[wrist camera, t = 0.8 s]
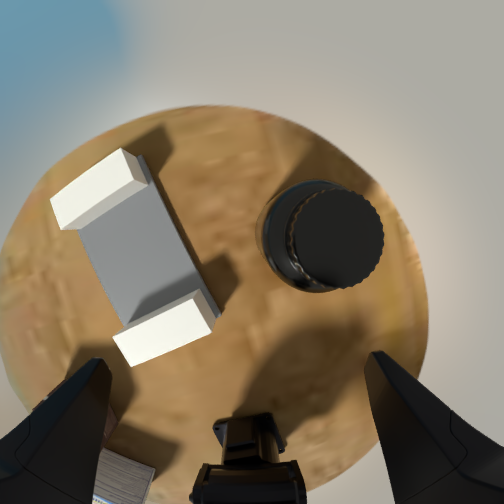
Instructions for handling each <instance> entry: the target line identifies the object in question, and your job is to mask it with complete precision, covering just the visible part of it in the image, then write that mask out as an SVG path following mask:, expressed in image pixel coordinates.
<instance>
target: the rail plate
mask: <svg viewBox="0 0 504 504" xmlns="http://www.w3.org/2000/svg"><path fill="white" fill-rule="evenodd" d="M50 201H51V204H52V207H53V210H54V213H55V215H56V218H57V221H58V224H59V226H60V229H61V230H69V229H77V231H78V234H79V236H80V238H81V241H82V243H83V245H84V248H85V250H86V252H87V255H88V257H89V259H90V261H91V263H92V266H93V268H94V270H95V272H96V274H97V276H98V278H99V280H100V282H101V284H102V286H103V288H104V290H105V292H106V294H107V296H108V298H109V300H110V302H111V304H112V306H113V308H114V309H115V311H116V313H117V315H118V317H119V318H120V320H121V322H122V324H123V325H124V327H123V328H122V329H121V330H120V331H119V332H118V333H116V334H115V335H114V336H113V339H114V341H115V342H116V344H117V345H118V347H119V349H120V350H121V352H122V354H123V355H124V357H125V358H126V360H127V361H128V363H129V365H130V366H131V367H132V366H135V365H137V364H140V363H142V362H145V361H147V360H150V359H152V358H155V357H157V356H159V355H162V354H164V353H166V352H169V351H171V350H174V349H176V348H178V347H180V346H183V345H185V344H187V343H190V342H192V341H194V340H196V339H199V338H201V337H203V336H205V335H208V334H210V333H212V330H213V327H214V324H215V320H216V318H218V317H220V316H221V315H222V314H221V312H220V310H219V308H218V306H217V304H216V303H215V301H214V299H213V297H212V295H211V293H210V292H209V290H208V288H207V286H206V284H205V282H204V280H203V278H202V277H201V275H200V273H199V271H198V269H197V267H196V265H195V263H194V261H193V259H192V257H191V255H190V254H189V252H188V250H187V248H186V246H185V244H184V242H183V240H182V238H181V236H180V234H179V232H178V230H177V228H176V226H175V224H174V222H173V219H172V217H171V215H170V213H169V211H168V209H167V207H166V205H165V203H164V201H163V199H162V197H161V194H160V192H159V190H158V188H157V186H156V184H155V182H154V179H153V177H152V175H151V173H150V171H149V168H148V166H147V164H146V162H145V159H144V157H143V156H142V155H141V154H140V155H139V156H137V157H135V156H133V155H132V154H130V153H128V152H127V151H125V150H123V149H122V148H119V149H118V150H116V151H115V152H113V153H112V154H110V155H109V156H107V157H106V158H104V159H103V160H101V161H100V162H99V163H97V164H96V165H94V166H93V167H91V168H90V169H89V170H87V171H86V172H85V173H83V174H82V175H81V176H79V177H78V178H77V179H75V180H74V181H73V182H71V183H70V184H69V185H67V186H66V187H65V188H64V189H62V190H61V191H60V192H59V193H57V194H56V195H55V196H54V197H52V198H51V199H50Z"/></svg>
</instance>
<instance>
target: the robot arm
mask: <svg viewBox="0 0 504 504" xmlns="http://www.w3.org/2000/svg"><path fill="white" fill-rule="evenodd" d="M364 374H365V379H366V384H367V390H368V395H369V401H370V407H371V411H372V415H373V419H374V422H375V426H376V429H377V433H378V436H379V440H380V444H381V447H382V451H383V455H384V459H385V462H386V466H387V470H388V475H389V479H390V483H391V487H392V492H393V496H394V501H395V504H504V447H503V446H500V445H499V444H497V443H496V442H494V441H493V440H491V439H490V438H488V437H487V436H485V435H484V434H482V433H481V432H480V431H478V430H476V429H475V428H474V427H472V426H471V425H470V424H468V423H467V422H466V421H465V420H463V419H462V418H461V417H460V416H459V415H457V414H456V413H455V412H454V411H453V410H451V409H450V408H449V407H448V406H447V405H445V404H444V403H443V402H442V401H441V400H440V399H439V398H438V397H436V396H435V395H434V394H433V393H432V392H430V391H429V390H428V389H427V388H426V387H425V386H423V385H422V384H421V383H420V382H419V381H418V380H417V379H415V378H414V377H413V376H412V375H411V374H410V373H408V372H407V371H406V370H405V369H404V368H402V367H401V366H400V365H399V364H398V363H397V362H395V361H394V360H393V359H392V358H391V357H390V356H388V355H387V354H386V353H385V352H384V351H381V350H379V351H373V352H371V353H370V354H369V357H368V359H367V362H366V365H365V368H364ZM111 384H112V372H111V370H110V369H109V367H108V365H107V363H106V361H105V360H104V359H103V358H100V357H92V358H91V359H90V360H89V361H88V362H86V363H85V364H84V365H83V366H82V367H81V368H80V369H79V370H77V371H76V372H75V373H74V374H73V375H72V376H71V377H70V378H69V379H68V380H66V381H65V382H64V383H63V384H62V385H61V386H60V387H59V388H58V389H57V390H55V391H54V392H53V393H52V394H51V395H50V396H49V397H48V398H47V399H46V400H45V401H44V402H42V403H41V404H40V405H39V406H38V407H37V408H36V409H35V410H34V411H33V412H32V413H31V414H30V415H29V416H27V417H26V418H25V419H24V420H23V421H22V422H21V423H20V424H19V425H18V426H17V427H16V428H14V429H13V430H12V431H11V432H9V433H8V434H7V435H5V436H4V437H3V438H2V439H0V504H92V502H93V494H94V486H95V479H96V473H97V467H98V461H99V455H100V450H101V444H102V439H103V434H104V430H105V425H106V420H107V415H108V408H109V400H110V392H111ZM267 416H269V418H266V417H267ZM216 427H219V428H216ZM213 431H214V433H215V435H216V437H217V439H218V440H219V442H220V444H221V446H222V448H223V450H222V461H221V465H210V464H208V463H203V465H202V468H201V469H200V470H199V473H198V476H197V478H196V481H195V484H194V486H193V491H192V492H191V494H190V495H189V500H190V501H191V502H192V503H193V504H307V496H306V487H305V483H304V479H303V476H302V474H301V471H300V468H299V466H298V463H297V460H291V461H290V462H280V460H279V454H281V453H283V452H284V451H285V447H284V445H283V442H282V439H281V437H280V434H279V431H278V429H277V426H276V423H275V420H274V418H273V415H272V414H271V413H269V412H268V413H263V414H259V415H255V416H250V417H245V418H240V419H235V420H230V421H226V422H220V423H215V424H214V425H213ZM280 449H281V450H280Z"/></svg>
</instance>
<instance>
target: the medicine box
mask: <svg viewBox="0 0 504 504" xmlns="http://www.w3.org/2000/svg"><path fill="white" fill-rule="evenodd" d="M154 473H155V469H154V468H152V467H149V466H146V465H143V464H141V463H138V462H136V461H133V460H131V459H128V458H126V457H123V456H121V455H119V454H117V453H114V452H112V451H110V450H108V449H106V448H104V447H103V449H102V451H101V453H100V455H99V461H98V467H97V473H96V479H95V486H94V494H93V502H92V504H145V501H146V498H147V495H148V492H149V489H150V486H151V482H152V479H153V476H154Z"/></svg>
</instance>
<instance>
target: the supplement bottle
mask: <svg viewBox="0 0 504 504" xmlns="http://www.w3.org/2000/svg"><path fill="white" fill-rule="evenodd" d="M255 238H256V243H257V246H258V249H259V251H260V253H261V255H262V257H263V258H264V259H265V261H266V262H267V264H268V265H269V266H270V268H271V269H272V270H273V272H274V273H275V274H276V275H277V276H278V277H279V278H280V279H281V280H282V281H284V282H285V283H286V284H288V285H289V286H291V287H293V288H295V289H297V290H300V291H304V292H309V293H325V292H330V291H333V290H336V289H338V288H341V289H345V288H347V287H353V286H354V285H355V284H357V283H361V282H362V281H363V279H365V278H367V277H368V276H369V274H370V273H371V272H372V271H374V269H375V266H376V265H377V264H378V263H379V260H380V256H381V255H382V248H383V246H384V240H383V239H384V232H383V225H382V223H381V221H380V216H379V215H378V214H377V212H376V209H375V208H374V207H373V206H371V203H370V202H369V201H368V200H365V199H364V197H363V196H362V195H357V194H356V193H355V192H354V191H350V190H349V189H347V188H346V187H344V186H342V185H340V184H338V183H336V182H333V181H330V180H325V179H309V180H304V181H301V182H298V183H295V184H293V185H291V186H289V187H287V188H286V189H285V190H283V191H282V192H281V193H279V194H278V195H277V196H276V197H275V198H273V199H272V200H271V201H270V202H269V203H268V204H267V205H266V206H265V207H264V208H263V210H262V211H261V213H260V215H259V217H258V219H257V223H256V228H255Z"/></svg>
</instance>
